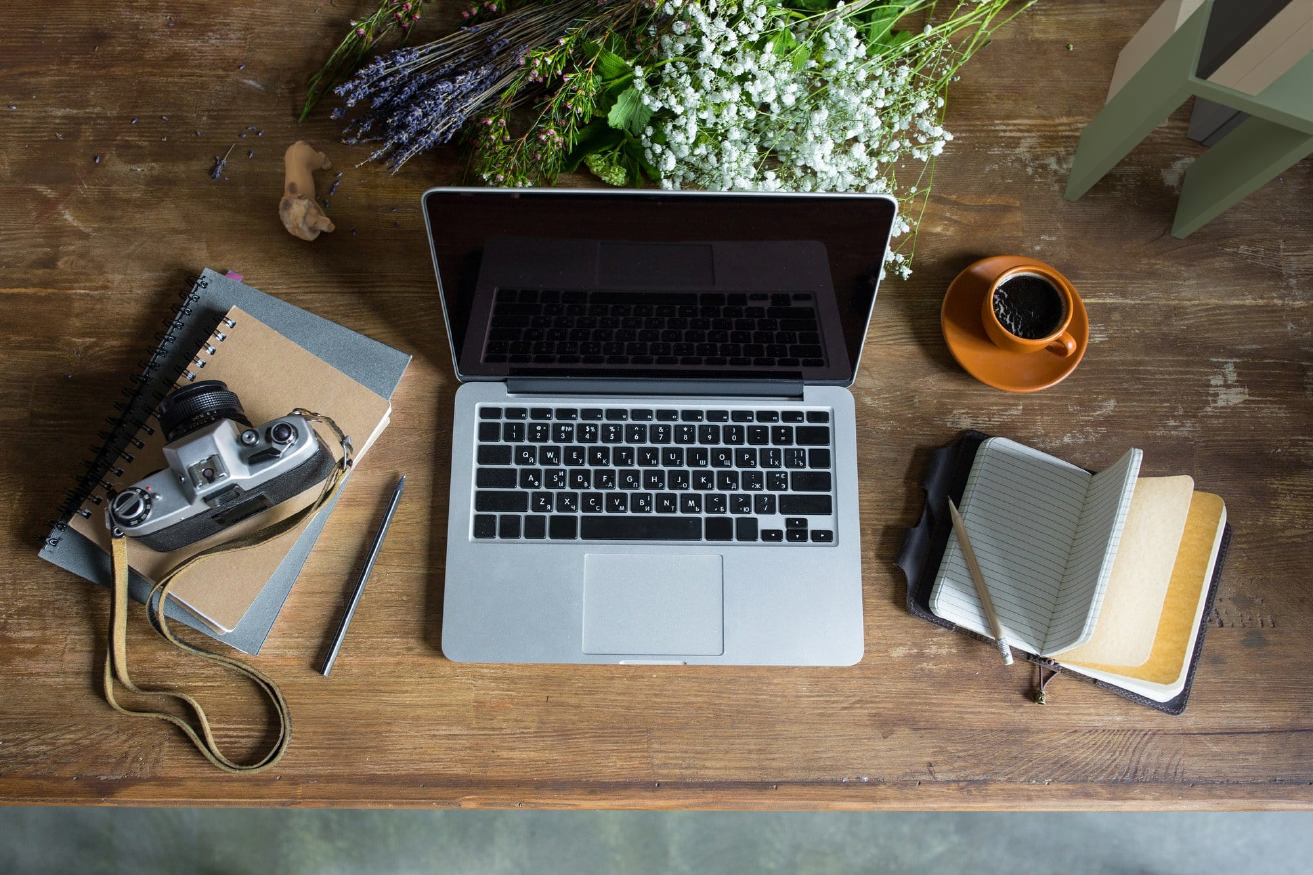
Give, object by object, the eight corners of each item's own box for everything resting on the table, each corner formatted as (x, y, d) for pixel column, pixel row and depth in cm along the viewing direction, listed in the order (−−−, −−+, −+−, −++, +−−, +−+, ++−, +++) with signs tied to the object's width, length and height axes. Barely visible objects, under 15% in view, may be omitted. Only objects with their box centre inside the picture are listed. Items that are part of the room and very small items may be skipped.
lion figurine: (352, 257, 91) (323, 219, 82) (306, 268, 91) (272, 231, 82) (329, 146, 94) (298, 99, 85) (284, 156, 94) (249, 109, 85)
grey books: (1230, 90, 100) (1310, 21, 88) (1216, 150, 98) (1296, 87, 86) (1199, 80, 100) (1275, 10, 88) (1185, 139, 98) (1260, 75, 87)
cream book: (1137, 58, 101) (1210, -21, 88) (1121, 117, 99) (1194, 44, 86) (1119, 52, 101) (1189, -28, 88) (1103, 110, 99) (1173, 37, 86)
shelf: (1198, 170, 97) (1360, 45, 76) (1182, 240, 95) (1343, 132, 74) (1082, 130, 98) (1209, -5, 77) (1062, 198, 96) (1188, 79, 74)
